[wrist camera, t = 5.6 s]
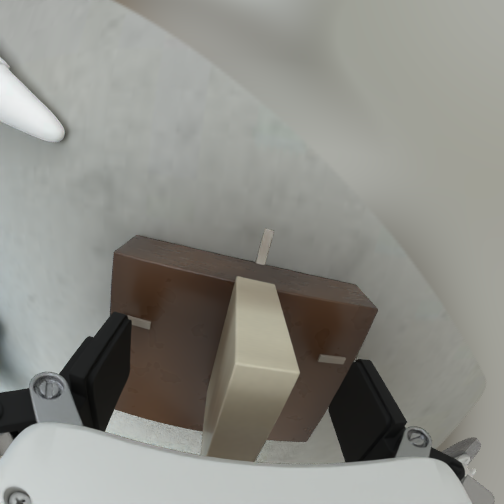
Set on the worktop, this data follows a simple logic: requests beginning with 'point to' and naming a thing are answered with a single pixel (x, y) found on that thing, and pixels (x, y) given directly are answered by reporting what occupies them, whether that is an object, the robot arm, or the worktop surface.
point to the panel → (211, 325)
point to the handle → (248, 374)
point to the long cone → (26, 109)
